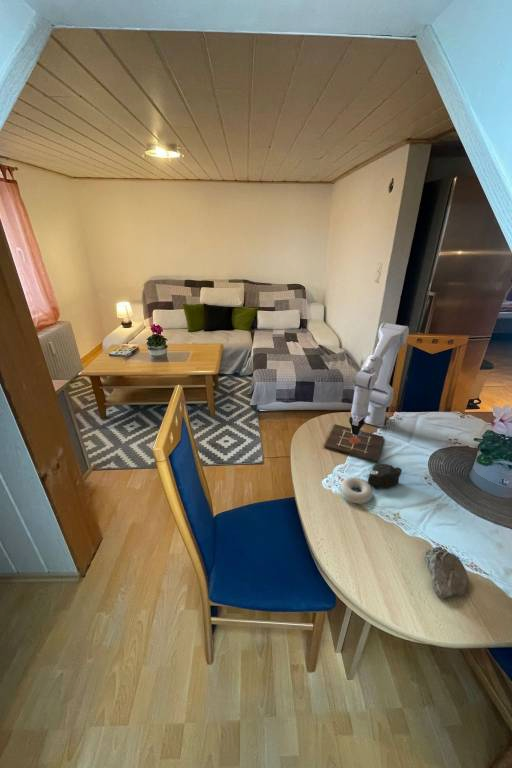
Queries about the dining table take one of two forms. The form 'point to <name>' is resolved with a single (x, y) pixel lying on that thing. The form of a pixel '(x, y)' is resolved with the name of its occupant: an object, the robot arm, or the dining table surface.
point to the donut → (356, 496)
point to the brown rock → (446, 572)
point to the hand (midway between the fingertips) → (356, 431)
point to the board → (355, 443)
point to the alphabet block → (358, 434)
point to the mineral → (384, 476)
